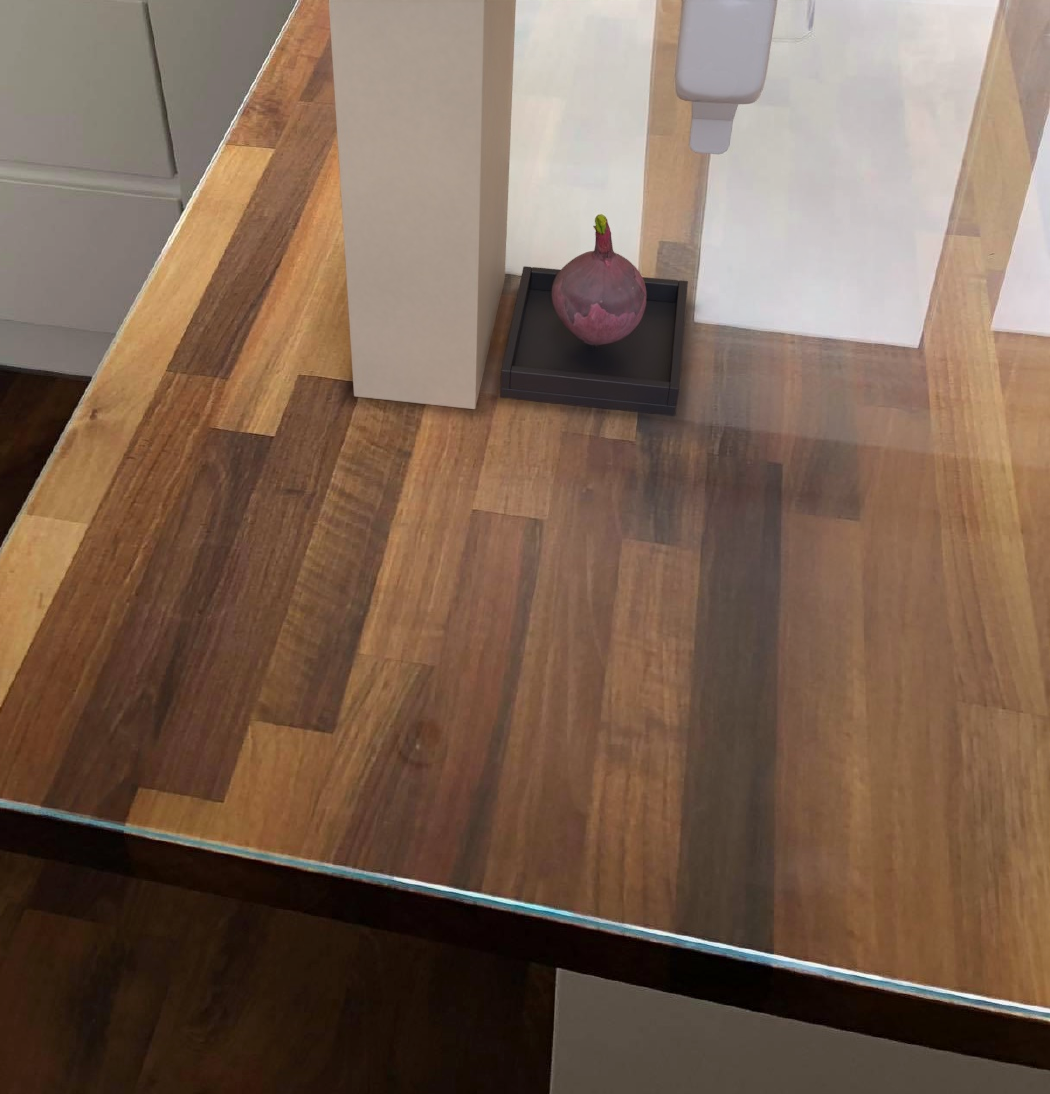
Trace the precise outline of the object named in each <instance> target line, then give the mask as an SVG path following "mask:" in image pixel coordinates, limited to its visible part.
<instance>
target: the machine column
mask: <svg viewBox="0 0 1050 1094" xmlns="http://www.w3.org/2000/svg"><path fill="white" fill-rule="evenodd" d="M516 6H517V0H328V14H329V28H330V45H331V46H330V47H331V61H332V75H333V76H332V77H333V91H334V106H335V107H334V108H335V109H334V110H335V121H336V123H335V124H336V136H337V137H336V139H337V154H338V168H339V169H338V170H339V186H340V199H341V200H340V201H341V215H342V216H341V217H342V218H341V219H342V231H343V244H344V245H343V247H344V262H345V264H344V265H345V277H346V278H345V279H346V294H347V295H346V296H347V310H348V311H347V312H348V323H349V325H348V326H349V339H350V357H351V370H352V371H351V372H352V386H353V397H356V398H365V399H375V400H376V399H377V400H386V401H395V402H402V403H403V402H404V403H413V404H421V405H431V406H439V407H440V406H441V407H449V408H458V409H467V410H468V409H469V410H476V408H477V403H478V400H479V395H480V390H481V387H482V386H481V385H482V381H483V377H484V373H485V368H486V363H487V360H488V355H489V350H490V348H491V347H490V346H491V341H492V338H493V334H494V328H495V324H496V320H497V315H498V312H499V307H500V306H499V305H500V302H501V297H502V293H503V288H504V285H505V279H506V260H507V259H506V257H507V238H508V237H507V234H508V209H509V205H508V204H509V185H510V184H509V183H510V161H511V159H510V158H511V135H512V134H511V132H512V110H513V109H512V108H513V83H514V60H515V59H514V56H515V35H516V33H515V31H516Z"/></svg>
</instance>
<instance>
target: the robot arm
mask: <svg viewBox="0 0 1050 1094" xmlns="http://www.w3.org/2000/svg"><path fill="white" fill-rule="evenodd" d="M778 1H779V0H681V3H680V13H679V21H678V31H677V41H676V50H675V59H674V68H673V69H674V70H673V88H674V93H675V95H676V97H677V99H680V100H681V101H684V102H691V121H690V130H689V141H688V146H689V148H690V150H691V151H692V152H694V153H695V154H705V155H722V154H724V153H726V152H727V151H728V150H729V148H730V144H731V139H732V131H733V124H734V119H735V116H736V113H737V109H738V107H739V105H751V104H753V103H754V104H755V102H757V101H758V100H759V99H760V97H761V95H762V93H763V91H764V87H765V84H766V78H767V73H768V68H769V62H770V55H771V47H772V42H773V41H772V40H773V34H774V28H775V20H776V15H777V8H778V7H777V6H778Z"/></svg>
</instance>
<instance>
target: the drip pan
mask: <svg viewBox="0 0 1050 1094" xmlns="http://www.w3.org/2000/svg"><path fill="white" fill-rule="evenodd" d="M560 270H561V268H560V269H559V268H549V267H537V266H527V265H526V266H525V265H524V266H523V267H522V271H521V276H520V281H519V285H518V290H517V294H516V299H515V304H514V309H513V312H512V317H511V322H510V327H509V332H508V337H507V342H506V346H505V350H504V351H505V352H504V355H503V361H502V364H501V370H500V387H499V388H500V390H499V397H500V398H504V399H512V400H513V399H514V400H522V401H531V402H540V403H549V404H550V403H551V404H559V405H567V406H568V405H570V406H577V407H588V408H598V409H605V410H615V411H626V412H636V413H644V414H645V413H646V414H654V415H665V416H673V417H675V416H676V411H677V405H678V399H679V394H680V386H681V372H682V359H683V347H684V337H685V324H686V310H687V299H688V298H687V297H688V287H689V286H688V285H689V281H688V280H681V279H680V280H678V279H671V278H670V279H668V278H657V277H645V276H642V278H643V280H644V282H645V287H646V307H645V311H644V314H643V316H642V319H641V321H640V322H639V324H638V325H637V326H636V328H635V329H634V330H633V331H632V332H631V333H630V334H629V335H627V336H626V337H624V338H622V339H620V340H618V341H615V342H613V343H608V344H601V345H597V346H596V345H590V344H587V343H584V342H582V341H581V340H580V339H579V338H578V337H577V336H576V335H574V334H573V333H572V332H571V331H570V330H569V329H568V328H567V327H566V326H565V325H564V323H563V322H562V321H561V319H560V318H559V316H558V314H557V312H556V310H555V308H554V305H553V301H552V286H553V282H554V280H555V277H556V276H557V274H558V273H559V271H560Z"/></svg>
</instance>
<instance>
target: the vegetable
mask: <svg viewBox="0 0 1050 1094" xmlns="http://www.w3.org/2000/svg"><path fill="white" fill-rule="evenodd" d="M594 224H595V225H593V228H594V230H595V234H594V235H595V236H594V237H595V245H594V250H591V251H586V252H584V253H581V254H579V255H577V256H575V257H574V258H572V259H571V260H570V261H569V262H567V263H566V264H565V265H564V266H563V267H562V268H560V271H559V273H558V274H557V276H556V277H555V280H554V282H553V286H552V301H553V305H554V308H555V310H556V312H557V314H558V316H559V318H560V319H561V321H562V322H563V323H564V325H565V326H566V327H567V328H568V329H569V330H570V331H571V332H572V333H573V334H574V335H576V336H577V337H578V338H579V339H580V340H581V341H582V342H584V343H587V344H590V345H596V346H597V345H601V344H608V343H613V342H615V341H618V340H620V339H622V338H624V337H626V336H627V335H629V334H630V333H631V332H632V331H633V330H634V329H635V328H636V326H637V325H638V324H639V322H640V321H641V319H642V316H643V314H644V311H645V307H646V287H645V282H644V280H643V278H642V277H643V276H642V274H641V272H640V271H639V270H638V268H637V267H636V266H635V265H634V264H633V263H632V262H631V261H630V260H628V259H627V258H625V256H623V255H621V254H619V253H616V252H615V251H614V248H613V239H612V232H611V227H610V225H609V221H608V218H607V216H605V215H604V214H601V213H600V214H597V215H596V216H595V218H594Z"/></svg>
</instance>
